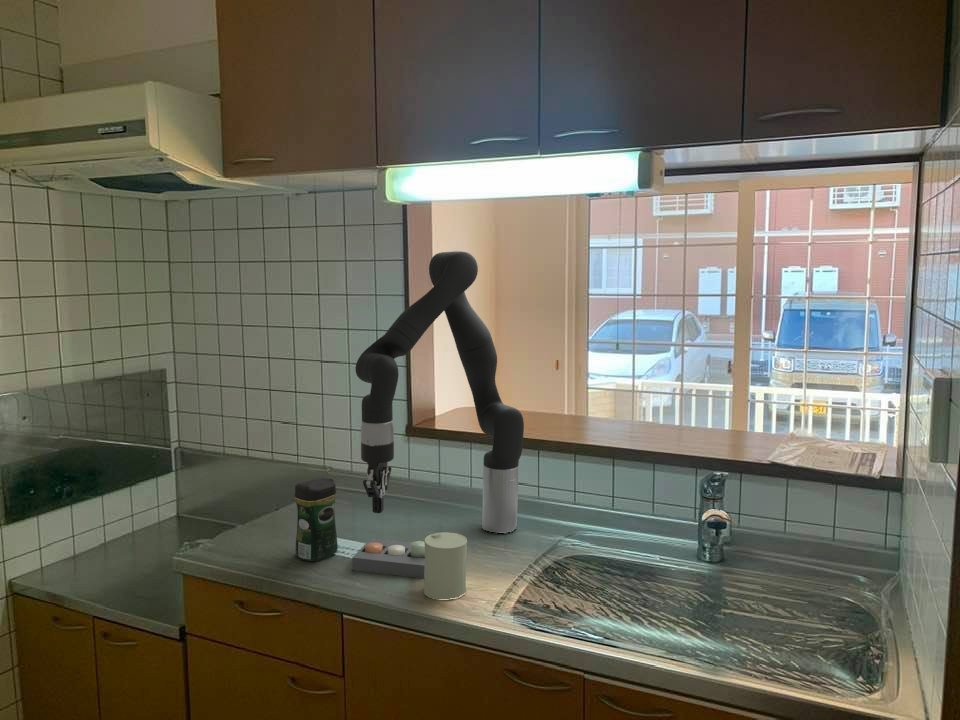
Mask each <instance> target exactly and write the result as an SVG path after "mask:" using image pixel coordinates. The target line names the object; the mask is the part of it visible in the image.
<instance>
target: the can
mask: <svg viewBox="0 0 960 720" xmlns="http://www.w3.org/2000/svg"><path fill="white" fill-rule="evenodd" d="M423 541H424V542H425V578H423V579H424V581H423V582H424V585H423V593H424V595H425V597H427V596H428V598H429V597H431V598H434V599H450V598H455V597H459V596H460V595H462V594H464V593H465V592H466V593H467V546H468V545H467V544H468V539H467V537H466V536H464V535H462V534H460V533H456V532H447V531H446V532H445V531H444V532H443V531H441V532H435V533H431V534H429V535H427V536H426V537H425V538H424V540H423ZM431 598H430V599H431ZM434 599H433V600H434Z"/></svg>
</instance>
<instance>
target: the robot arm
mask: <svg viewBox="0 0 960 720" xmlns="http://www.w3.org/2000/svg"><path fill="white" fill-rule="evenodd" d="M478 269H479V266H478V263H477V260H476V258H475V257H474V256H473V255H472V254H471V253H469V252H466V251H459V250H455V251H454V250H453V251H444V252H443V251H442V252H438V253H435V255H433V256H432V257H431V259H430V261H429V265H428V274H429V278H430V281H431V284H432V286H433V287H431V289H429V291H427V292H426V293H425V294H424V295H422V297H420V298H419V299H418V300H416V301H415V302H414V303H412V304H411V305H410V306H408V307H407V308H406V309H405V310H404V311H403V312H402V313H401V314H400V315H399V316H398V317H397V318H396V319H395V320H394V322H393V323H392V325H391V326H390V327H389V328H388V329H387V330H386V332H385V333H384V334H383V335H382V336H381V337H380V338H378V339H377V340H376V341H374V342H373V343H371V345H369V346H368V347H367V348H366V349H365V350H364V351H363V352H362V353H361V354H360V356H359V357H358V359H357V360H356V363H355V374H356V376H357V378H358V379H359V380H360V381H362V382H365V383H367V384H371V386H370V393H369V394H367V395H365V396H363V397H362V400H361V426H360V460H362V462H364V463H367V465H368V466H367V469H366V476H367V479H364V480H363V481H362V484H363V485H362V486H363V487H364V490H365V492H366V495H367V497H368V498H372V503H371V504H372V513H374V514H382V512H383V511H384V499H385V498H384V496H385V494H386V491H388V487H389V484H390V483H389V482H390V477H391V473H392V466H388V462H392V461H394V458H395V432H394V431H395V430H394V428H395V427H394V420H393V418H394V417H393V402H394V398H395V395H396V390H397V385H398V382H399V381H398V380H399V368H398V363H397V362H396V358H400V357H404V356H406V355H408V354H409V353H410V352H411V351H412V349H413V348H415V345H416V344H417V343H418V342H419V341H420V339H421V338H422V336H423V335H424V334H425V332H427V330H428V329H429V328H430V326H432V324H433V323H434V322H435V321H436V320H437V319H438V318H439V317H440V316H441V314H443V312H444V313H445V317H446V319H447V322H448V325H449V328H450V331H451V333H452V336H453V337H452V338H453V339H454V344H455V346H456V350H457V353H458V355H459V359H460V362H461V364H462V367H463V369H464V372H465V376H466V379H467V383H468V385H469V388H470V391H471V394H472V399H473V402H474V407H475V408H474V409H475V412H476V413H475V414H476V418H477V422H478V425H479V428H480V429H481V431H482V432H483V434H485V435H486V436H488V437H490V438H492V439H493V440H492V448H491V449H492V450H490V451H487V452H486V453H484V455H483V467H482V468H483V472H482V513H481V514H482V515H481V519H482V520H481V523H482V524H481V528H482V529H483V531H485V530H486V532H487V531H490V532H489V533H491V532H497V533H499V532H508V531H512V530H514V529H516V530H517V528H518V527H517V526H518V525H517V523H518V499H519V498H518V495H519V489H518V488H519V465H520V464H519V463H520V458H521V456H522V453H523V447H524V446H523V444H524V428H525V424H524V423H525V422H524V417H523V415H522V412H521V411H520V410H519V409H518V408H516V407H512V406H511V405H506V404H504V403H503V401H502V398H501V396H500V394H499V390H498V388H497V385H496V375H497V374H496V373H497V366H498V355H497V350H496V347H495V343H494V341H493V336H492V335H491V332H490V330H489V328H488V327H487V325H486V324H485V323H484V320H483V319H482V318H481V317H480V316H479V315H478V314H477V312H476V311H475V310H474V308H473V307H472V306H471V304H470V301H469V300H468V298H467V296H466V292H465V291H467V290H468V289H469V288H470V287H471V286H472V285H473V283H475V281H476V279H477V276H478V272H479V270H478ZM516 527H517V528H516ZM497 533H496V534H497Z"/></svg>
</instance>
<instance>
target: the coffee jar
mask: <svg viewBox="0 0 960 720" xmlns="http://www.w3.org/2000/svg"><path fill="white" fill-rule="evenodd" d="M337 493H338V492H337V485H336V481H335V480H334V479H333V478H330V477H327V476H324V475H323V476H320V477H316V478H313V479H309V480H306V481H303V482H298V483H297V484H296V485H295V487H294V501H295V504H296V507H297V523H296V524H297V525H296V526H297V527H296V538H295V539H296V541H295V555H296V557H297V558H299V559H301V560H303V561H305V562H306V561H310V562H316V561H317V562H318V561H321V560H324V559H326V558H328V557H331V556H333V555H334V554H336V553H337V551H338V547H339V546H338V535H337V534H338V533H337V528H336V525H337V524H336V515H335V514H336V513H335V505H336V504H335V503H336V499H337V495H338V494H337Z"/></svg>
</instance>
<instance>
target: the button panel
mask: <svg viewBox="0 0 960 720" xmlns="http://www.w3.org/2000/svg"><path fill="white" fill-rule="evenodd" d="M368 543H381V544H382V545H383V551H382V552H381V553H380V554H378V553H369V552H365V545H366V544H368ZM411 543H412V542H411V541H410V542H409V541H408V542H407V541H401V540H399V541H398V540H392V539H382V538H380V539H379V538H372V537H370V539H369V540H368V541H367V542H366V543H365V544H364V545H363V546H362V547H360V549H359V550H358V551H357V552H356V553H355V554H354V555H353V556H352V559H351V563H352V564H351V567H352V569H351V570H352V571H357V572H367V573H375V574H382V575H383V574H385V575H392V576H400V577H410V578H411V577H412V578H418V579H424V578H425V559H424V558H415V557H410V544H411ZM392 545H402V546H404V547H405V554H404V555H403V556H397V555H388V547H389V546H392Z"/></svg>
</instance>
